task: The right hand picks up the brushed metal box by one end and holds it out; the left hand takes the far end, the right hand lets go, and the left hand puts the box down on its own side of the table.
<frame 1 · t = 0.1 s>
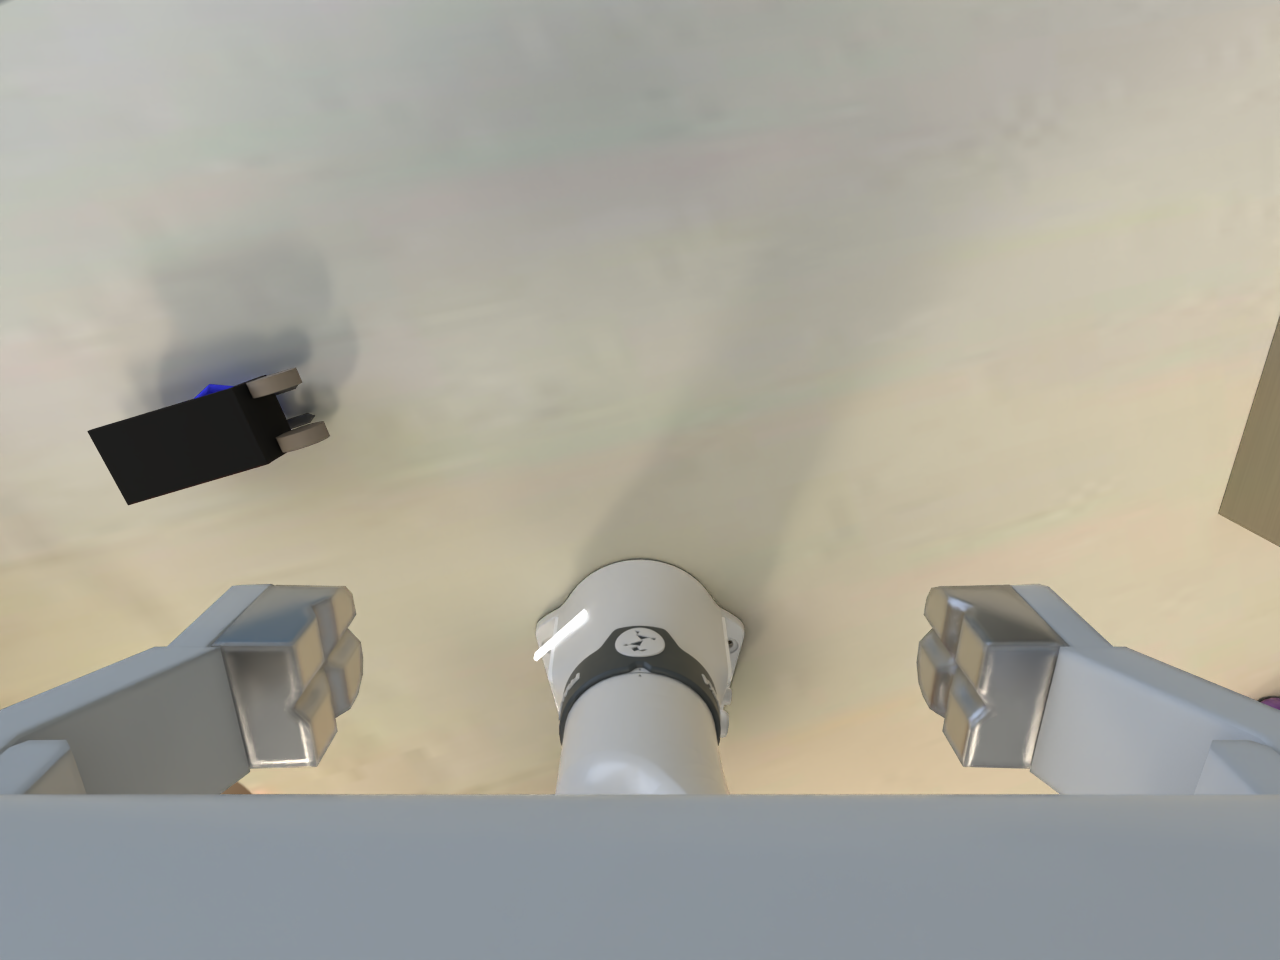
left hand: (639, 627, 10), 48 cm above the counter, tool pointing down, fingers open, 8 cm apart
figurine character: (245, 416, 59), on the counter
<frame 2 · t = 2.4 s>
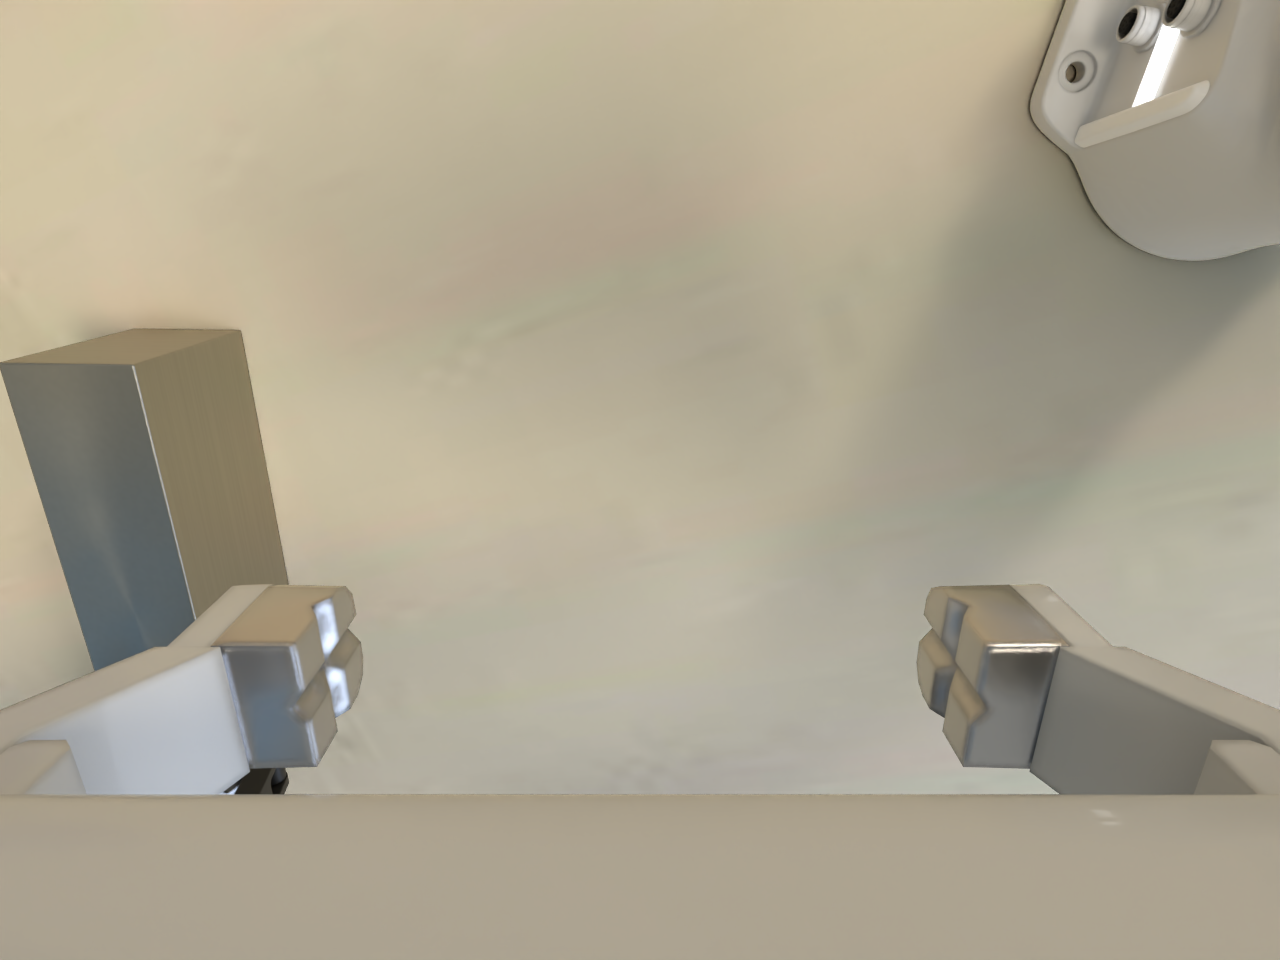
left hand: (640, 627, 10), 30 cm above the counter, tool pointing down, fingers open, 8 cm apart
box: (231, 535, 44), on the counter, touching right hand
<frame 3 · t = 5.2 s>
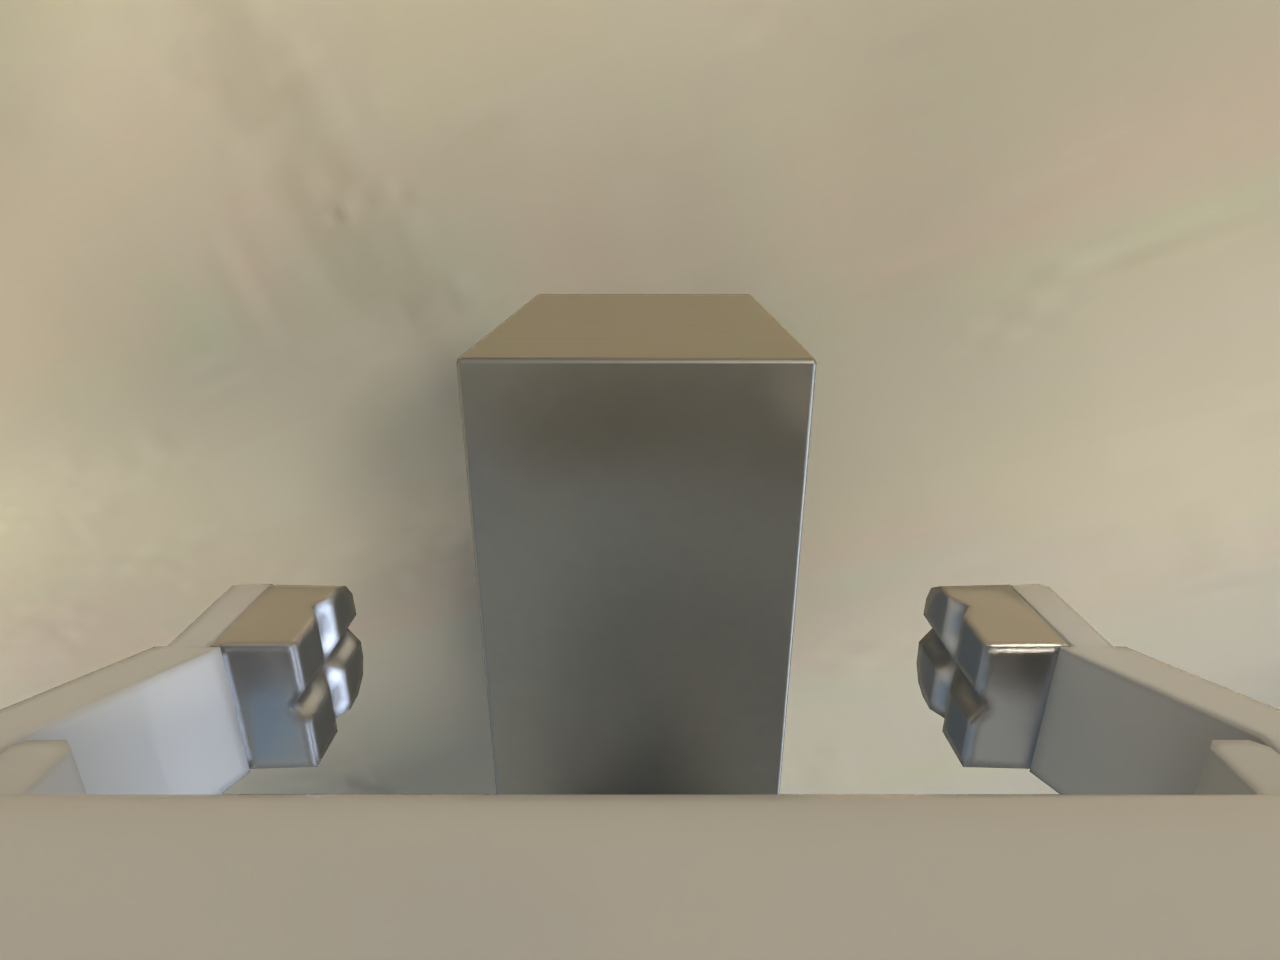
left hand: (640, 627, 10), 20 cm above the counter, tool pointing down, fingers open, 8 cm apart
box: (643, 671, 24), point 8 cm above the counter, touching right hand
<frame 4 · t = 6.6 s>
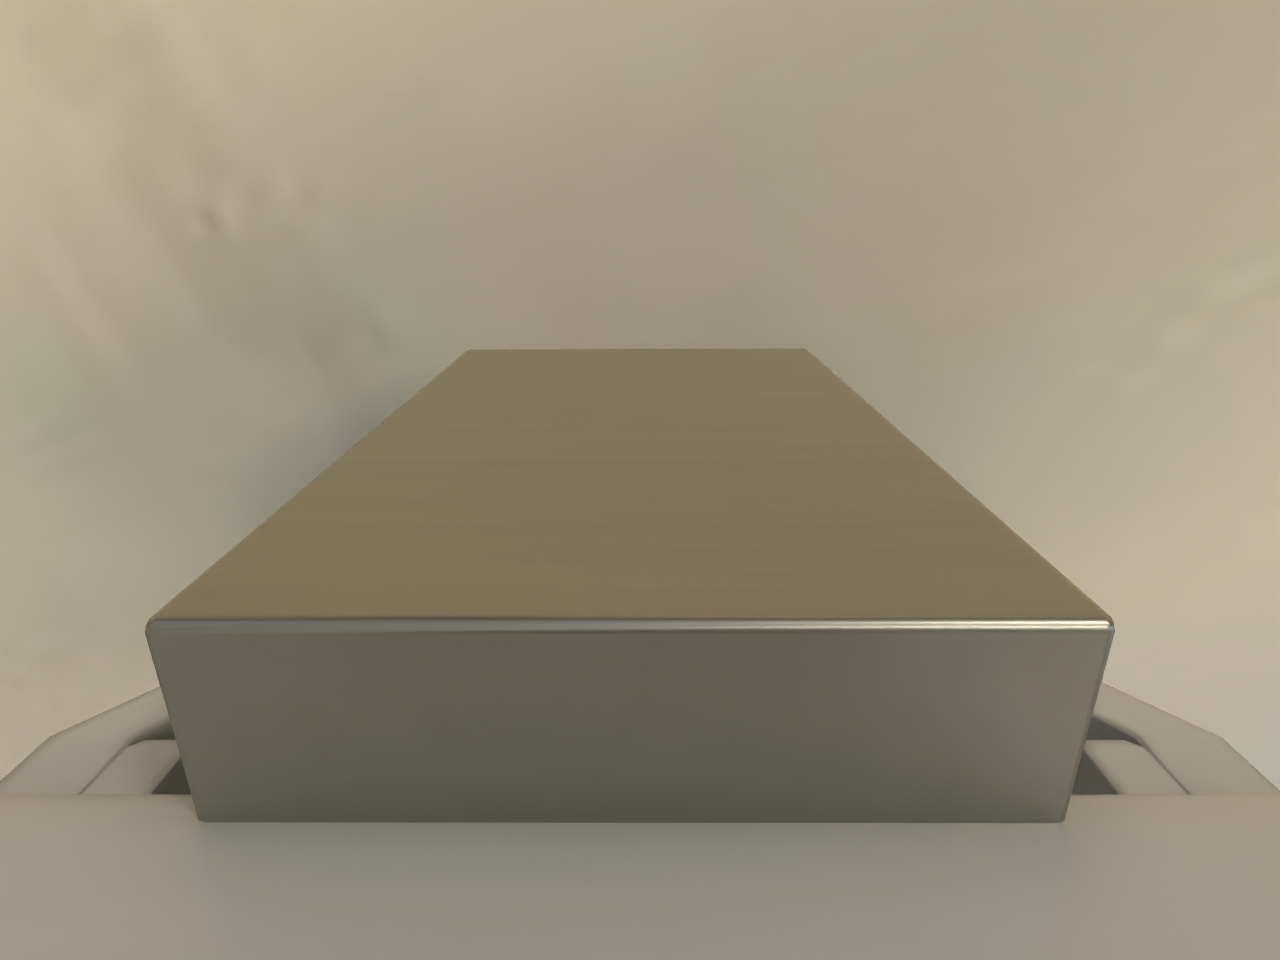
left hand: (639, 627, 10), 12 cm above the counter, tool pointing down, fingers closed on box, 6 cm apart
box: (639, 879, 17), point 8 cm above the counter, touching left hand, right hand
when the right hand's fingers open (12 cm above the counter, at t = 7.9 s): box moves 1 cm, held by the left hand.
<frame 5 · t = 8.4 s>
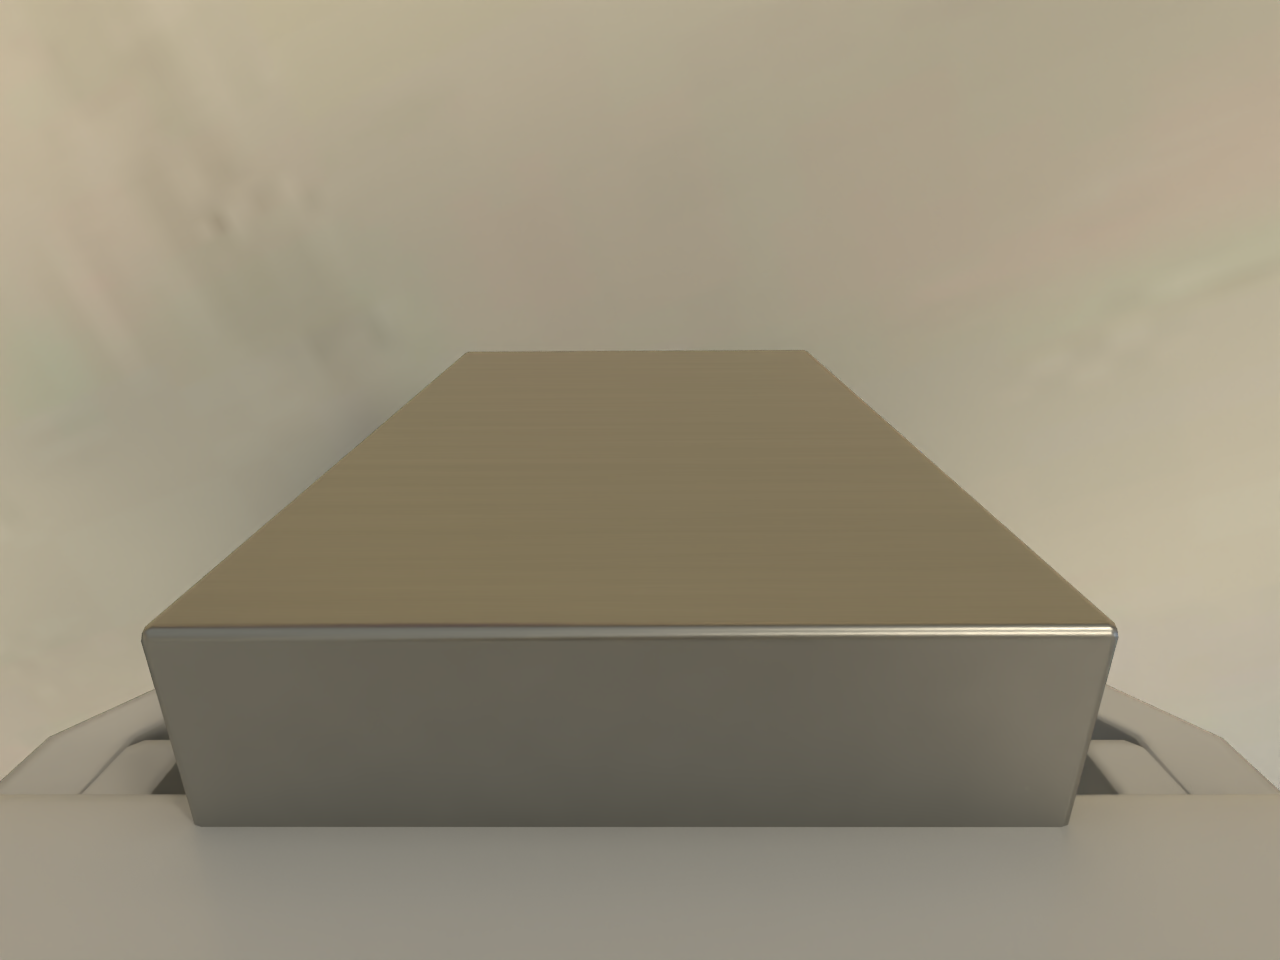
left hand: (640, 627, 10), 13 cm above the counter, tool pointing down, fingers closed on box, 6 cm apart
box: (639, 881, 17), point 9 cm above the counter, touching left hand
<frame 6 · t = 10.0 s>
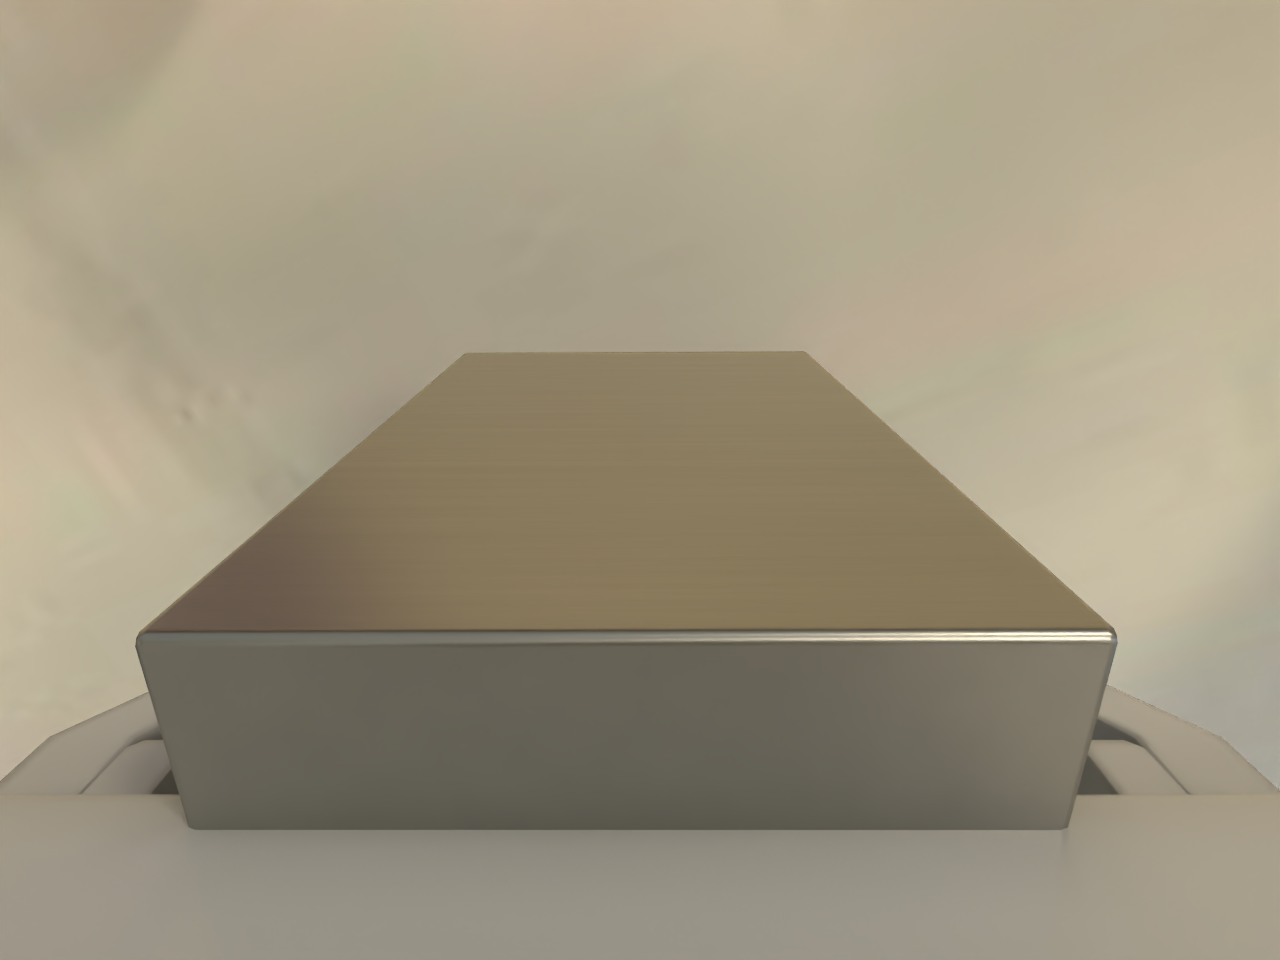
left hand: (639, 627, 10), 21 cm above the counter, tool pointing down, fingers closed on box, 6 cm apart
box: (638, 883, 17), point 18 cm above the counter, touching left hand
when the left hand's fingers open (5 cm above the counter, at t = 13.5 s): box drops 1 cm, on the counter.
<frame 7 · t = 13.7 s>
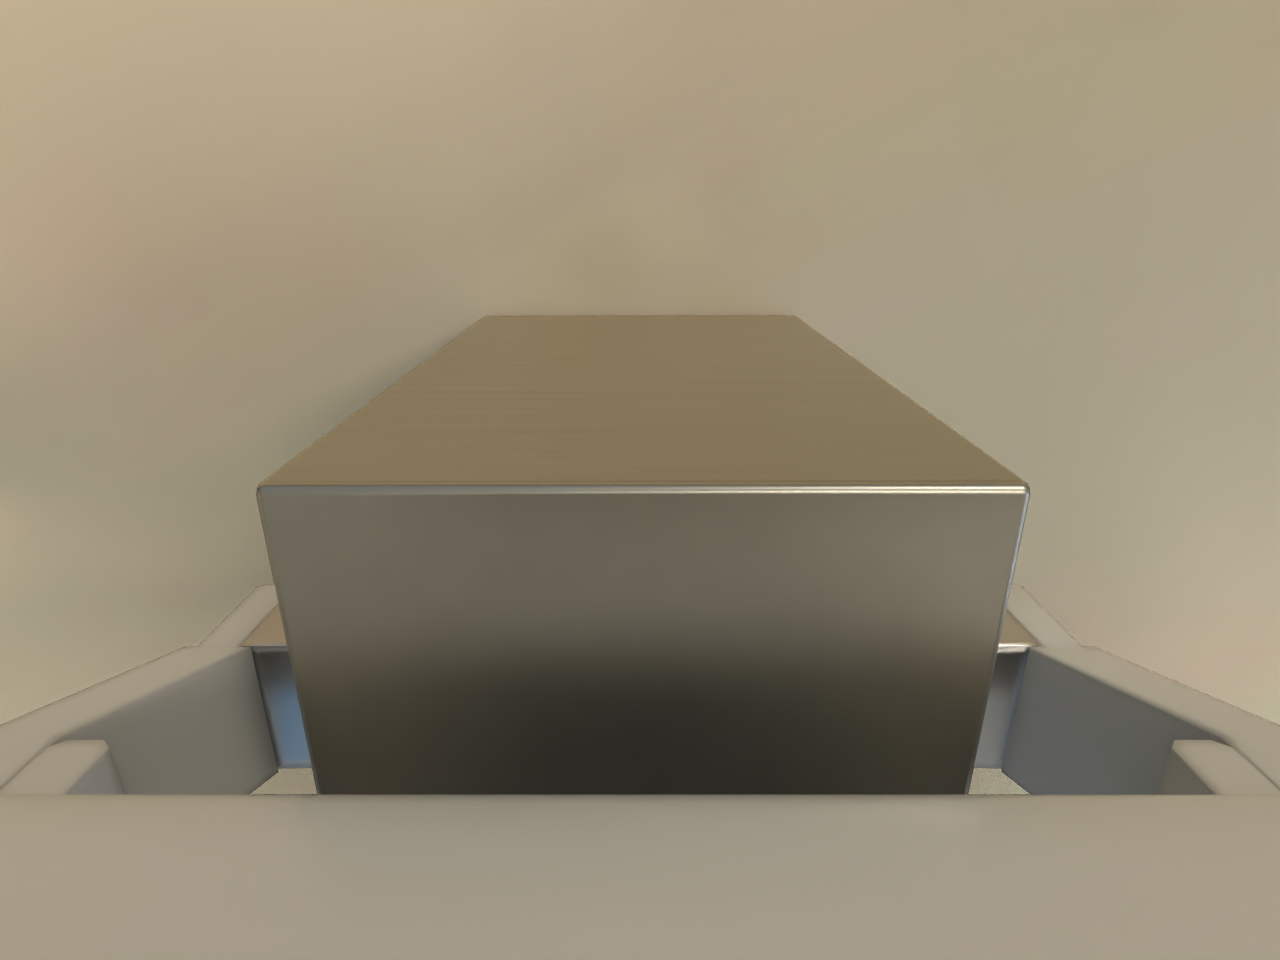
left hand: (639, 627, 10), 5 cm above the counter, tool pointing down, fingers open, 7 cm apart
box: (640, 821, 18), on the counter
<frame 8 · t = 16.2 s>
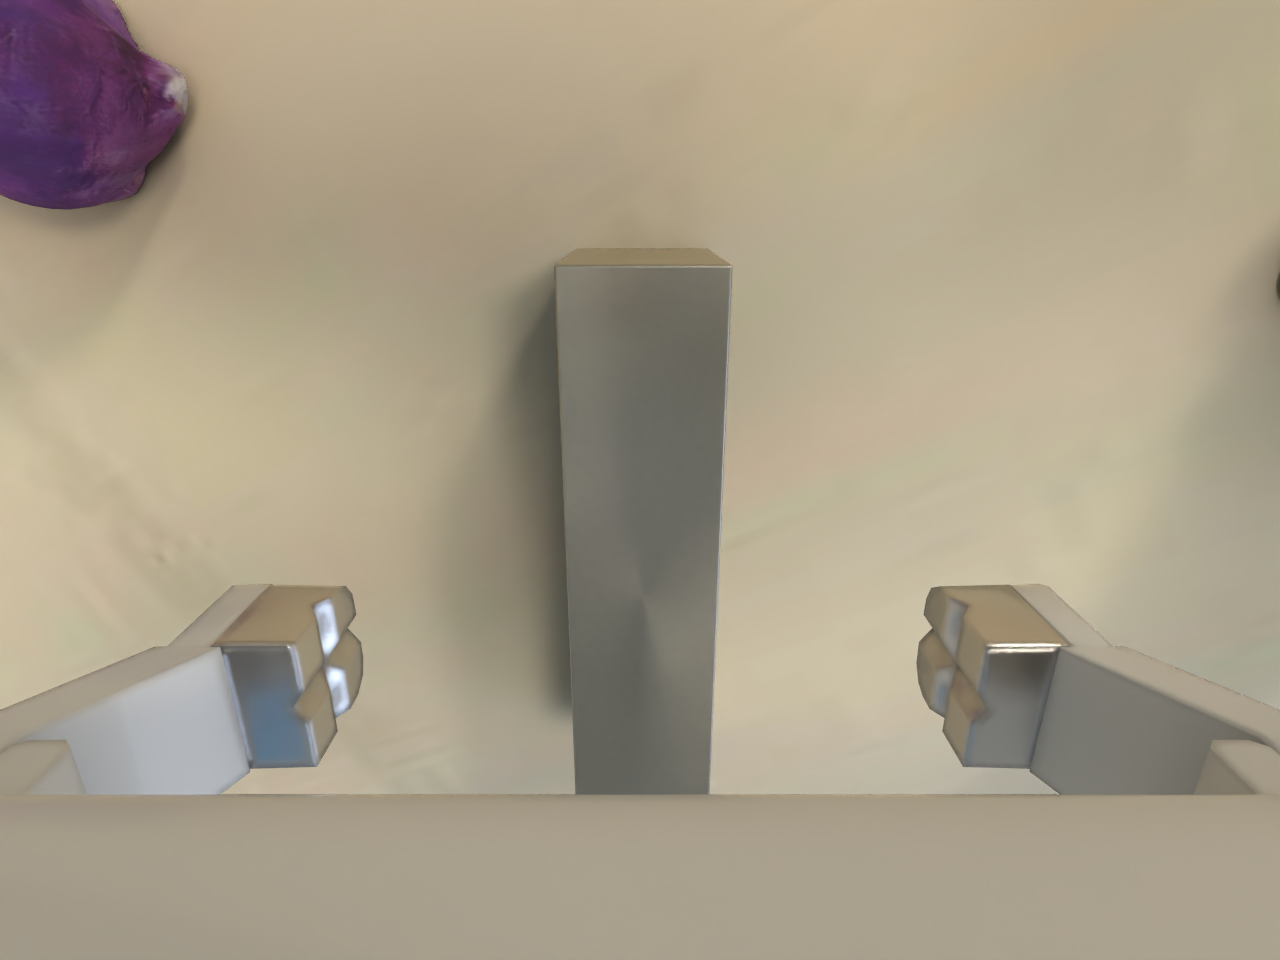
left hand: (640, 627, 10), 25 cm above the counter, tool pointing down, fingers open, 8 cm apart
figurine: (65, 110, 30), on the counter
box: (642, 506, 36), on the counter
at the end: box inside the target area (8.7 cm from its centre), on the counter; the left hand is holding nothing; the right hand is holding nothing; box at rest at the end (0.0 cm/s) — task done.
